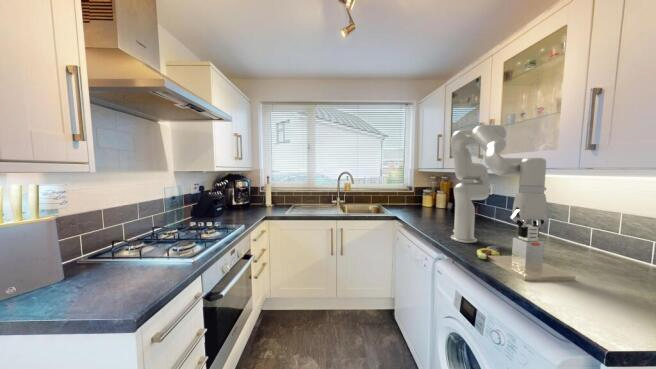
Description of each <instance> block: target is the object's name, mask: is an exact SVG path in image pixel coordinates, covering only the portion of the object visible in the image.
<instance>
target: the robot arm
mask: <svg viewBox="0 0 656 369" xmlns="http://www.w3.org/2000/svg"><path fill="white" fill-rule="evenodd" d="M506 136H507V130H506V128H505V127H504V126H503V125H500V124H480V125H477V126H476V127H475V128H473V129H461V130H459V129H458V130H456V131H454V132H453V134H452V136H451V138H450V149H451V152H452V156H453V162H454V163H453V166H454V173H455V174H454V175H455V178H456V179H457V180H460V181H467V182H459V183H457V184H455V186H454V187H453V196H454V224H453V227H454V228H453V230H452V232H453V234H451V235H450V239H451V240H453V241H456V242H459V243H465V244H466V243H467V244H473V243H477V242H478V239H477V238H476V237H474V236H475V220H476V219H475V217H476V214H475V213H476V208H475V205H474V203H473V202H472V201H483V200H486V199H488V198H489V196H490V192H491V190H490V180H489V170H490V171H491V172H492V173H493V174H495V175H497V176H499V177H519V182H518V192H517V193H516V194H515V197H514V199H513V204H512V211H511V214H512V215H511V216H510V220H511V221H512V222H514V223H515V224H516V226H517V227H518V230H517V231H518V234H517V235H518V237H519V236H521V237H523V238H526V235H527V228H526V225H527V222H528V220H529V221H531V225H533V226H537V227H539V228H538V238H539V236H540V228H542V225H543V224H544V223H546V222H547V221H548V220H549V217H548V215H547V214H548V213H547V211H548V210H547V208H548V204H547V197H546V194H545V191H546V190H547V187H546V186H545V185H546V173H547V170H546V169H547V160H546V159H545V158H543V157H523V158H522V157H519V158H518V157H517V158H516V157H503V156H502V155H501V154H500V153H501V152H503V151H504V150H505V148H506V146H507V142H506V140H505V139H506ZM468 146H469V147H470V146H471V147H479V146H480V147H481V148H482V150H484V162H485V164H483V163H481V162H473V160H472V154H471V152H470V150H469V149H468V148H467V147H468ZM486 166H487V167H488V168H487V167H486ZM488 169H489V170H488ZM468 181H471V182H468ZM472 181H473V182H472Z"/></svg>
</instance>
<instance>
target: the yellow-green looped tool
mask: <svg viewBox="0 0 656 369" xmlns="http://www.w3.org/2000/svg"><path fill="white" fill-rule="evenodd" d="M500 248H506V246H505V245H504V246H503V245H490V246H487V247H486V248H485V247H483V248H479V249H477V250H476V254H477V258H479V259H481V260H487V256H501V252H500V251H501V250H500Z"/></svg>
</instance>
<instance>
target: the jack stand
mask: <svg viewBox="0 0 656 369" xmlns="http://www.w3.org/2000/svg"><path fill="white" fill-rule="evenodd" d="M511 247H512V249H511V255H500V256H487V259H486V260H488V261H489V262H491V263H493V264H495V265H496V266H498V267H500V268H502V269H503V270H505V271H507V272H508V273H511V274H512V275H514V276H516V277H517V278H518V279H521V280H522V281H525V282H526V281H527V282H528V281H529V282H531V281H533V282H534V281H536V282H542V281H543V282H545V281H547V282H550V281H552V282H553V281H554V282H555V281H557V282H559V281H560V282H562V281H563V282H565V281H566V282H569V281H570V282H573V281H576V276H575V275H573V274H571V273H568V272H566V271H563V270H562V269H559V268H556V267H555V266H552V265H550V264H548V263H545V262H544V248H545V242H543V241H539V240H538V242H525V241H523V240H520V239H519V237H512V246H511Z"/></svg>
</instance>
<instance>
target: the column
mask: <svg viewBox="0 0 656 369" xmlns="http://www.w3.org/2000/svg"><path fill="white" fill-rule="evenodd" d="M526 228H527V235H526V238H523V237H521V236H519V235H518V238H519V239H520V240H523V241H525V242H538V241H539V237H538V228H539V227H537V226H533V225H532V224H526ZM539 229H540V228H539Z"/></svg>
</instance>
